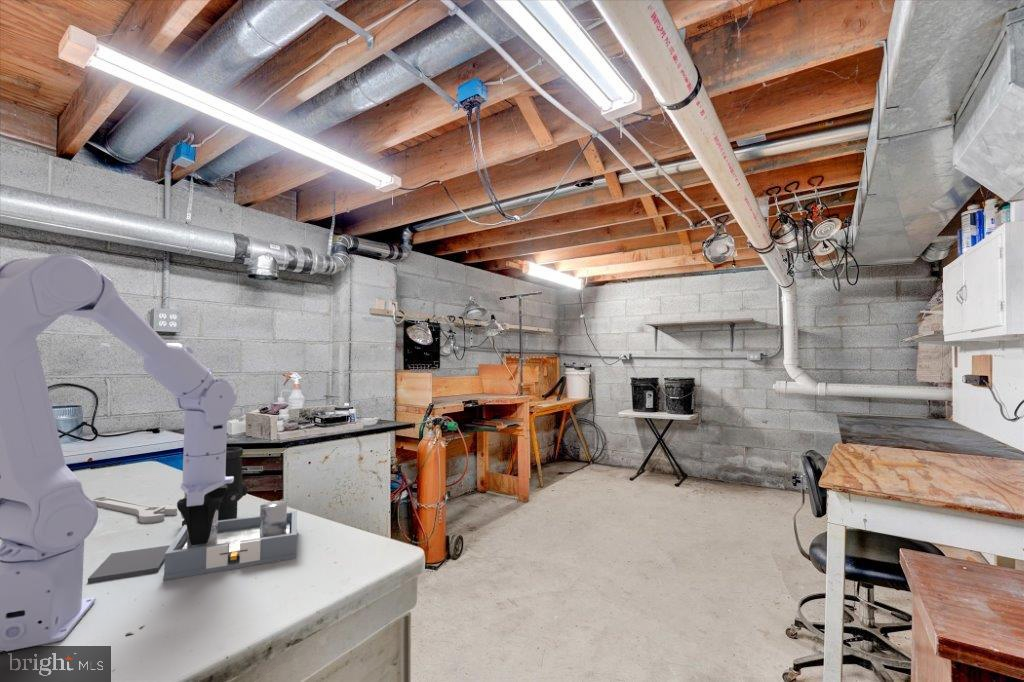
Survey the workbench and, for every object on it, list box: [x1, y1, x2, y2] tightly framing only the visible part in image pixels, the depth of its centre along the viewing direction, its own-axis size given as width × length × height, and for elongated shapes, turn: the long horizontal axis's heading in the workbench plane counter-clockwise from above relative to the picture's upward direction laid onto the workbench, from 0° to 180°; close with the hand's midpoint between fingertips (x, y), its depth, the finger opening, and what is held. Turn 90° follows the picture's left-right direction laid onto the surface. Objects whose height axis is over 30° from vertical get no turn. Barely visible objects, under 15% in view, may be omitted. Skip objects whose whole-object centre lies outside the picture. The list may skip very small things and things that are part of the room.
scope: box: [180, 446, 249, 528], centre depth 87 cm, size 8×14×10 cm
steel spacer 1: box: [187, 509, 218, 548], centre depth 72 cm, size 4×4×5 cm
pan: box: [183, 522, 290, 560], centre depth 73 cm, size 12×15×1 cm
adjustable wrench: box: [91, 496, 178, 524], centre depth 94 cm, size 25×6×2 cm, turn 63°
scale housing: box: [162, 510, 298, 581], centre depth 74 cm, size 13×17×4 cm
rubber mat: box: [87, 544, 171, 584], centre depth 69 cm, size 9×8×1 cm
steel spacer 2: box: [259, 500, 288, 538], centre depth 76 cm, size 4×4×5 cm
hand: (202, 538), depth 72 cm, fingers closed on steel spacer 1, 4 cm apart
